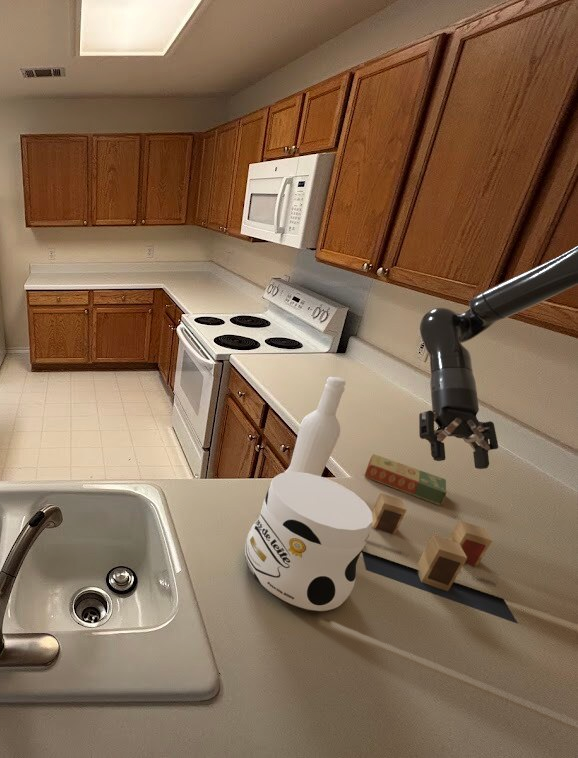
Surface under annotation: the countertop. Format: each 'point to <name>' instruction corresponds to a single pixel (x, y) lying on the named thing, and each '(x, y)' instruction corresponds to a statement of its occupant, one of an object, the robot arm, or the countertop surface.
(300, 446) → the bottle
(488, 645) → the countertop surface
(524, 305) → the robot arm
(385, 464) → the carton
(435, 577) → the brown panel wooden block
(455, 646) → the countertop surface
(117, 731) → the countertop surface
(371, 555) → the word mat
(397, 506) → the tan wooden block
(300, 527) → the milk container
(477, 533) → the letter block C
